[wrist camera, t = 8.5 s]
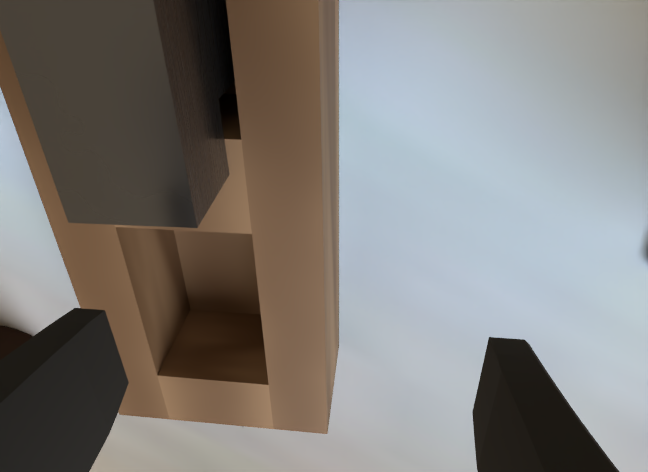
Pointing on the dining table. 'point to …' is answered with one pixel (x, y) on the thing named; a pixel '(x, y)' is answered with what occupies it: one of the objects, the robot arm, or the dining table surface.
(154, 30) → the grey rectangular block
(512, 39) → the dining table surface
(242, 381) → the wooden slotted block
